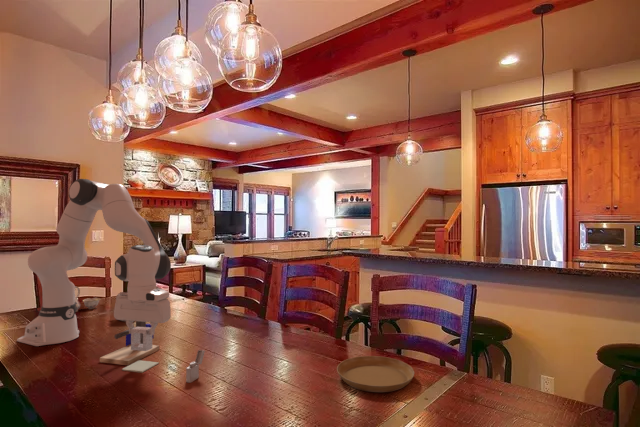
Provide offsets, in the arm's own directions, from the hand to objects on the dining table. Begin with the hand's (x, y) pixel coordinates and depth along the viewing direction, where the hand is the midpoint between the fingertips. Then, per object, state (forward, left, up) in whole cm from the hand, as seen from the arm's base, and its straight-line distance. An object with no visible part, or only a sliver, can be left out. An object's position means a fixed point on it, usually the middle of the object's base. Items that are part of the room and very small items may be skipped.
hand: (141, 333), depth 127 cm
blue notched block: (-19, +21, -12) cm, 31 cm away
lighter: (+23, -3, -11) cm, 26 cm away
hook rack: (-11, +8, -11) cm, 18 cm away
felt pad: (0, 0, -11) cm, 11 cm away
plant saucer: (+78, +11, -12) cm, 79 cm away
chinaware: (-89, +54, -12) cm, 104 cm away
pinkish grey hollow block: (0, 0, -5) cm, 5 cm away
